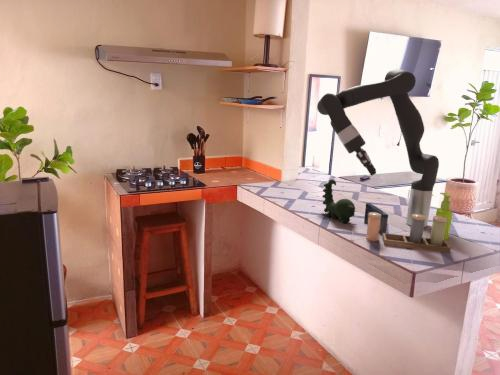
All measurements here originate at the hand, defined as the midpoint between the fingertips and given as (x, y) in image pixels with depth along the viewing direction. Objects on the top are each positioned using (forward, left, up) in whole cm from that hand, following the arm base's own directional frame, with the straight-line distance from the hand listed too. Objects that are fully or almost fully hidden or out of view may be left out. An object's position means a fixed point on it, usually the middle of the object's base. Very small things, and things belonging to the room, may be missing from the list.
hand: (374, 173), depth 150 cm
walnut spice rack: (+2, +18, -28) cm, 34 cm away
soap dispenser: (-12, +30, -29) cm, 43 cm away
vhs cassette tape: (-16, +4, -29) cm, 33 cm away
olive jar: (+2, +26, -27) cm, 37 cm away
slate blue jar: (+2, +18, -27) cm, 32 cm away
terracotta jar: (+1, +2, -28) cm, 28 cm away
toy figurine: (-26, -12, -29) cm, 41 cm away
